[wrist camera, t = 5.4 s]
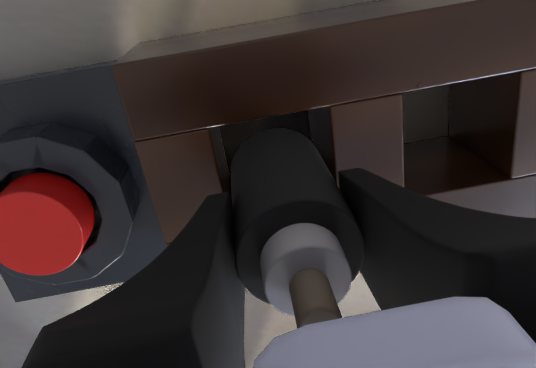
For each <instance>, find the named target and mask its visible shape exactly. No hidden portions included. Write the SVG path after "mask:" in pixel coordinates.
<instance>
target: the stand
mask: <svg viewBox="0 0 536 368" xmlns="http://www.w3.org/2000/svg"><path fill="white" fill-rule="evenodd" d="M111 69H112V73H113V76H114V79H115V82H116V86H117V89H118V92H119V95H120V98H121V102H122V105H123V108H124V111H125V114H126V118H127V121H128V124H129V127H130V131H131V134H132V137H133V139H134V141H135V147H136V150H137V154H138V157H139V160H140V163H141V166H142V170H143V173H144V176H145V179H146V183H147V186H148V189H149V192H150V195H151V199H152V202H153V205H154V208H155V211H156V215H157V218H158V221H159V224H160V228H161V231H162V234H163V237H164V240H165V242H166V247H168V246H169V244H170V243H171V242H172V241H173V240H174V239H175V238H176V236H177V235H178V234H179V233H180V232H181V231H182V230H183V228H184V227H185V226H186V224H187V223H188V222H189V221H190V219H191V218H192V216H193V215H194V214H195V212H196V211H197V209H198V208H199V207H200V205H201V204H202V202H203V201H204V200H205V198H206V197H207V196H208V195H213V194H218V193H224V192H229V196H230V201H231V205H232V193H231V176H230V174H229V170H228V165H227V160H226V156H225V151H224V147H223V142H222V137H221V133H220V128H219V126H222V125H228V124H233V123H239V122H244V121H250V120H255V119H261V118H266V117H272V116H277V115H283V114H288V113H294V112H299V111H305V110H308V117H309V125H310V133H311V142H312V143H313V144H314V145H315V147H316V148H317V150H318V152H319V154H320V155H321V157H322V159H323V161H324V163H325V164H326V166H327V168H328V170H329V172H330V173H331V175H332V177H333V179H334V181H335V182H336V184H337V186H338V188H339V178H338V171H343V170H348V169H354V168H362V169H364V170H367V171H369V172H371V173H373V174H376V175H378V176H380V177H382V178H384V179H386V180H388V181H391V182H393V183H395V184H397V185H400V186H402V187H404V188H407V189H409V190H412V191H414V192H417V193H419V194H422V195H425V196H428V197H430V198H433V199H436V200H439V201H443V202H446V203H450V204H454V205H457V206H461V207H465V208H470V209H474V210H479V211H485V212H490V213H496V214H502V215H509V216H517V217H527V218H536V0H378V1H373V2H367V3H361V4H356V5H350V6H344V7H339V8H333V9H328V10H322V11H316V12H311V13H305V14H299V15H294V16H288V17H283V18H277V19H271V20H266V21H260V22H254V23H249V24H243V25H237V26H232V27H226V28H221V29H215V30H209V31H204V32H198V33H192V34H187V35H181V36H175V37H170V38H164V39H159V40H153V41H147V42H142V43H139V44H137V45H136V46H135V47H134V48H133V49H131V50H130V51H129V52H128V53H126V54H125V55H124V56H123V57H121V58H120V59H119V60H118V61H116V62H115V63H114V64H113V65H111ZM448 84H450V110H449V136H446V137H441V138H435V139H430V140H424V141H419V142H414V143H408V144H403V101H402V94H401V93H404V92H409V91H415V90H420V89H426V88H431V87H437V86H442V85H448ZM339 190H340V189H339Z"/></svg>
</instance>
